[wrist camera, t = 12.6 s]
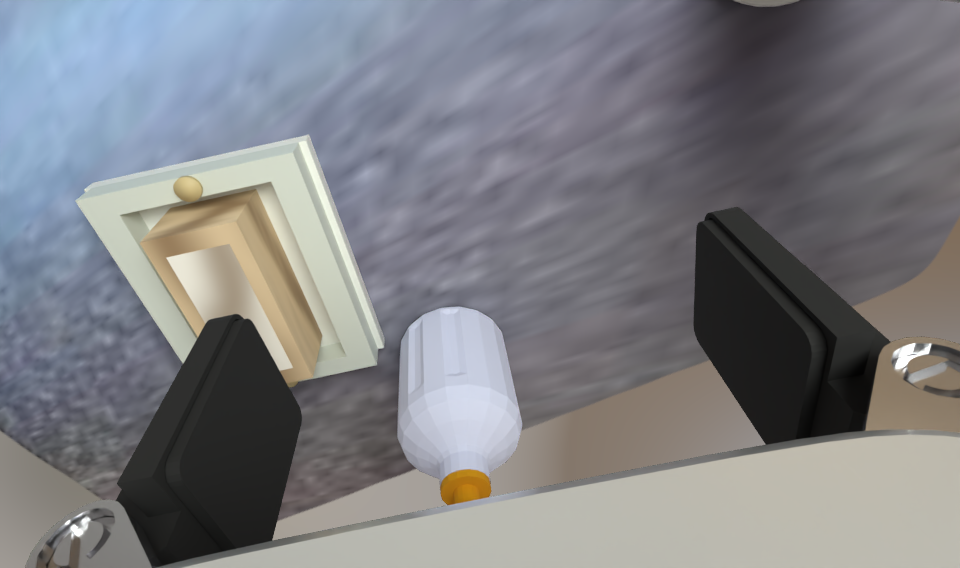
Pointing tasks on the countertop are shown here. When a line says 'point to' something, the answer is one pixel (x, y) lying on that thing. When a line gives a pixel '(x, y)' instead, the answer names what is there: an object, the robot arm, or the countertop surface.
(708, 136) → the countertop surface
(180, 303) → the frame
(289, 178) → the cream rectangular tray
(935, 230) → the countertop surface
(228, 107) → the countertop surface
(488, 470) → the soap bottle
